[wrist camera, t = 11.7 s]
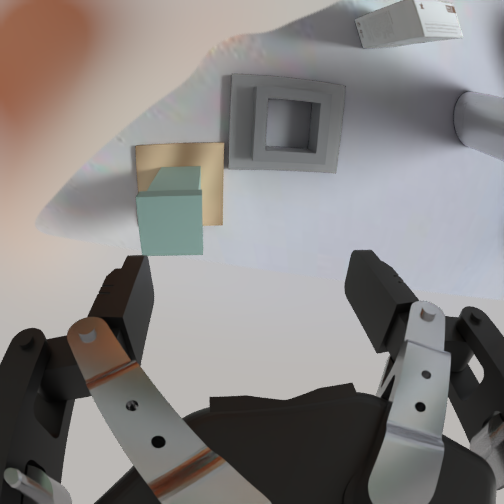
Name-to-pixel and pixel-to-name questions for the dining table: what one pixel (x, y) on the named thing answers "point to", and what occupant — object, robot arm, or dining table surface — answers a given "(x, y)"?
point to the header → (255, 121)
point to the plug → (172, 213)
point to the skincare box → (409, 24)
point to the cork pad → (187, 155)
